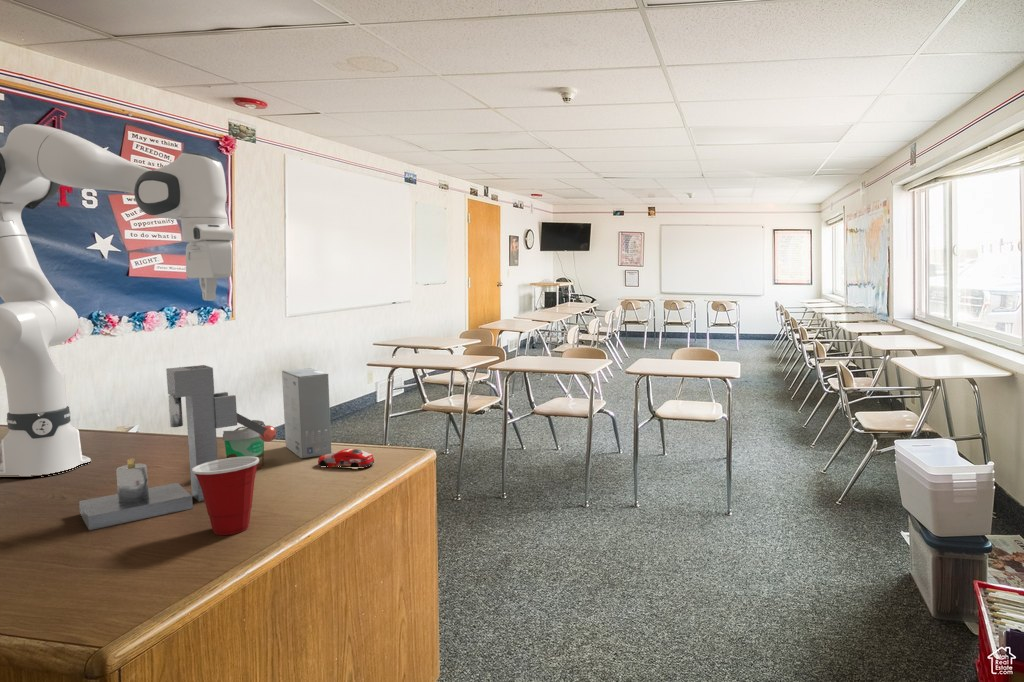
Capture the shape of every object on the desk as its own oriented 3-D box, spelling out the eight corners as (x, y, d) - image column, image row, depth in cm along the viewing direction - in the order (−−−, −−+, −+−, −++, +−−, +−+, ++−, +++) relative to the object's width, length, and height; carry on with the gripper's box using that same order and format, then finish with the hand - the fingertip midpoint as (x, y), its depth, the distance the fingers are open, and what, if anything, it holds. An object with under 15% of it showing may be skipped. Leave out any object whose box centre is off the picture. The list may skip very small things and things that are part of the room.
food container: (249, 477, 153) (247, 432, 152) (224, 475, 154) (221, 431, 153) (279, 461, 165) (277, 420, 164) (255, 460, 166) (253, 419, 165)
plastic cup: (235, 514, 129) (232, 450, 128) (276, 524, 123) (272, 457, 122) (182, 534, 120) (177, 465, 118) (223, 545, 114) (219, 473, 113)
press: (80, 514, 131) (68, 376, 128) (229, 484, 147) (221, 362, 145) (89, 530, 122) (77, 383, 120) (246, 497, 139) (238, 367, 136)
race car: (313, 468, 160) (312, 451, 159) (326, 462, 165) (325, 445, 164) (365, 472, 156) (365, 454, 156) (377, 465, 161) (376, 448, 161)
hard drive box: (332, 454, 170) (329, 373, 168) (301, 459, 166) (297, 376, 164) (314, 442, 183) (310, 367, 181) (284, 446, 179) (280, 369, 177)
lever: (208, 412, 141) (217, 398, 142) (267, 442, 149) (275, 428, 150) (213, 415, 138) (222, 400, 139) (273, 445, 146) (281, 431, 147)
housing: (116, 498, 132) (113, 459, 131) (145, 492, 135) (142, 454, 134) (121, 504, 128) (118, 464, 127) (151, 498, 131) (148, 459, 130)
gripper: (176, 235, 150) (180, 299, 151) (203, 230, 134) (207, 302, 136) (207, 235, 154) (210, 298, 155) (237, 231, 138) (240, 301, 139)
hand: (209, 300), depth 145 cm, fingers closed
